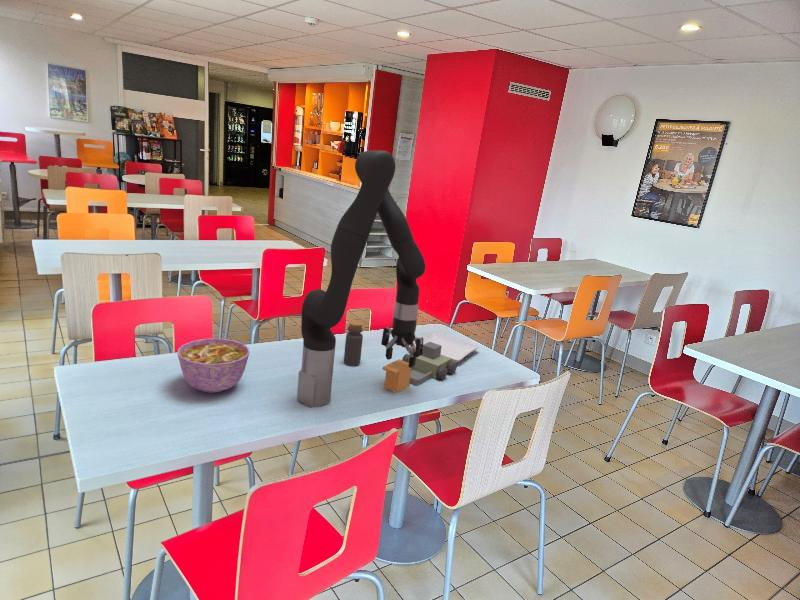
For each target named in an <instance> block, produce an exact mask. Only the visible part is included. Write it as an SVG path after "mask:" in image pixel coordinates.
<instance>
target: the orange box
mask: <svg viewBox="0 0 800 600" xmlns="http://www.w3.org/2000/svg"><path fill="white" fill-rule="evenodd" d="M408 366H409V363H408V362H405V361H402V359H397V360H395V361H394V360H393V362H391V363H388V364H386V365H384V366H382V368H381V370H383V371H385V379H384V386H383V387H384V389H386V388H387V390H389V391H391V390H392V392H394V391H395V392H394V393H396V392H397V393H399V392H401V391H403V390H405V389H406V387H407V388H408V387H409V386H410V383H409V381H410V374H411V368H409V367H408ZM404 388H405V389H404ZM402 389H403V390H402ZM400 390H401V391H400ZM398 391H399V392H398Z"/></svg>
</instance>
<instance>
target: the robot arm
mask: <svg viewBox="0 0 800 600" xmlns="http://www.w3.org/2000/svg"><path fill="white" fill-rule="evenodd" d="M354 170H355V173H356V175H357V177H358V179H359V181H360V183H361V184H360V188H359V191H358V193H357V195H356V197H355V199H354V200H353V201H352V203H351V205H349V206H348V208H347V210H346V211H345V213H344V214H343V215H342V217H341V218H340V219H339V221H338V224H337V227H336V229H335V231H334V235H333V237H332V240H331V244H330V261H331V262H330V263H331V273H330V279H329V282H328V286H327V288H326V290H323V289H321V288H318V289H312V290H310V291H309V292H308V293H307V294H306V295H305V297H304V300H303V302H302V307H301V320H300V321H301V326H300V328H301V329H300V330H301V331H300V332H301V337H302V340H303V341H302V342H303V343H302V346H303V347H302V357H301V369H300V370H299V372H298V380H297V381H298V382H297V394H296V401H298V402H299V403H301V404H303V405H306V406H308V407H310V408H314V407H322V406H325V405H327V404H329V403H330V402H331V399H332V398H331V397H332V389H333V388H332V387H333V376H334V366H335V365H334V364H335V354H336V344H337V343H336V341H337V340H336V339H337V338H336V335H335V334H334V333H333V331H332V328H334V327H336V326H337V325H338V324H339V323H340V322H341V320H342V319H343V317H344V315H345V312H346V309H347V304H348V300H349V297H350V293H351V292H350V291H351V288H352V285H353V282H354V279H355V275H356V272H357V269H358V266H359V263H360V261H361V258H362V256H363V253H364V251H365V248H366V245H367V244H368V243H367V242H368V240H369V236H370V233H371V231H372V228H373V225H374V223H375V221H376V218H377V214H378V216H379V218H380V221H381V223H382V225H383V228H384V230H385V233H386V236H387V238H388V240H389V244H390V245H391V247H392V249H393V250H394V251H395V252H396V253H397V256H398V257H397V260H396V263H395V264H396V265H395V266H396V267H395V273H396V284H397V285H396V296H395V303H394V306H393V307H394V308H393V317H392V326H391V327H392V328H391V327H390V326H387V327H384V328H383V331H382V336H381V345H382V346H384V347H385V348H386V349H385V358H386V360H388V361H389V360H391V359H392V358H393V350H394V348H393V347H394V346H395V345H396V346H400V347H402V348H405V350H406V351H407V352H408V354H409V355H410V357H409V366H408V367H409V368H412V367H413V366H414V365H415V362H416V357H419V356H421V355H422V354H423V337H417V336H416V331H417V330H416V329H417V321H418V315H419V313H418V312H419V297H420V287H419V285H418V282H417V279H418V278H421V277H422V276H423V275H424V274H425V272H426V261H425V258H424V256H423V254H422V251H421V250H420V248H419V246H418V245H417V243H416V241H415V239H414V235H413V233H412V230H411V228H410V225H409V222H408V220H407V218H406V216H405V214H404V212H403V211H402V209H401V208H400V207H399V205H398V204H397V202H396V201H395V199H394V197H393V196H392V193H391V192H390V189H389V187H390V185H391V183H392V181H393V178H394V176H395V173H396V161H395V159H394V156H393V155H392V153H390V152H389V151H386V150H380V149H379V150H366V151H363V152H361V153H360V154H359V155H358V156H357V158H356V160H355V163H354ZM390 337H392V339H391V340H390ZM414 342H415V344H416V349H415V345H414Z"/></svg>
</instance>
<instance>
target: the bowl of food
mask: <svg viewBox="0 0 800 600" xmlns="http://www.w3.org/2000/svg"><path fill="white" fill-rule="evenodd" d="M250 353H251V351H250V348H249V347H248V346H247V345H246V344H244V343H242V342H239V341H237V340H233V339H226V338H203V339H197V340H192V341H189V342H186V343H185V344H182V345H181V346H179V348H178V349H177V358H178V361H179V365H180V369H181V372H182V376H183V378H184V380H185V381H186V382H187V384H188V385H189V386H190V387H192V388H194V389H196V390H198V391H201V390H202V391H201V392H204V391H205V392H204V393H209V392H211V393H213V392H216V393H220V392H221V393H222V392H224V391H225V390H228V389H231V388H233V387H234V386H236V385H237V384H238V383H239V382H240V380H241V379H242V377H243V375H244V372H245V369H246V366H247V363H248V360H249V356H250ZM223 390H224V391H223ZM211 393H210V394H211Z"/></svg>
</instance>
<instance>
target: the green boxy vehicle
mask: <svg viewBox="0 0 800 600" xmlns="http://www.w3.org/2000/svg"><path fill="white" fill-rule="evenodd" d="M441 347H442V346H441V345H438V344H435V343H432V342H428V343H426V344H423V354H422V355H421V356H419V357H416V362H415V365H414V366H413V367H412V368H411V374H410V381H409V384H411V385H412V386H416V387H418V386H419V384H420V385H421V384H423V383H425V382H426V380H427V381H428V380H430V379H435V380H437V379H438V380H440V381H444V380H445V379H446V377H447V375H448V374H449V375H454V374H455V373H456V371H457V368H458V362H457V363H455V362H452V358H449V357H446V356H443V355H441ZM409 357H410V354H409V353H406V354H404V355H403V357H402V359H401V360H402V361H405V362H408V363H409Z"/></svg>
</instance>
